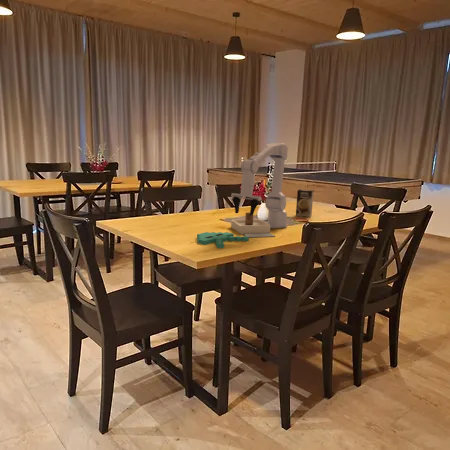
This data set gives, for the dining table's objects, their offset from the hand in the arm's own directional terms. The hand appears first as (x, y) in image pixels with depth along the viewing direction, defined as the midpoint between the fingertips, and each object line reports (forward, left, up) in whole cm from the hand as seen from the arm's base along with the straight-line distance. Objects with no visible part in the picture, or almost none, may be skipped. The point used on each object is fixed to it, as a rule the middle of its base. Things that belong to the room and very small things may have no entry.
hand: (244, 214), depth 195 cm
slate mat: (-8, 0, -11) cm, 13 cm away
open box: (-8, -12, -11) cm, 18 cm away
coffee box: (-55, -45, -11) cm, 72 cm away
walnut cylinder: (-8, -14, -8) cm, 18 cm away
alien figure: (+14, +6, -11) cm, 19 cm away
